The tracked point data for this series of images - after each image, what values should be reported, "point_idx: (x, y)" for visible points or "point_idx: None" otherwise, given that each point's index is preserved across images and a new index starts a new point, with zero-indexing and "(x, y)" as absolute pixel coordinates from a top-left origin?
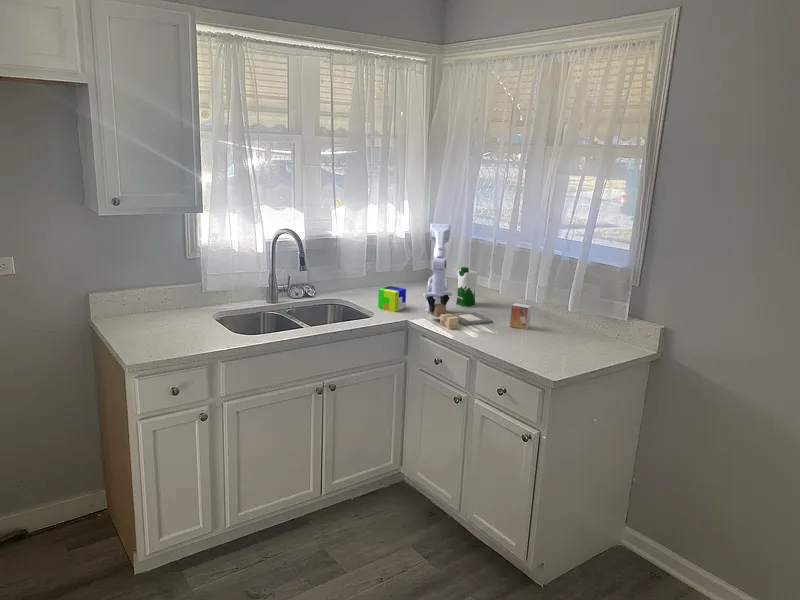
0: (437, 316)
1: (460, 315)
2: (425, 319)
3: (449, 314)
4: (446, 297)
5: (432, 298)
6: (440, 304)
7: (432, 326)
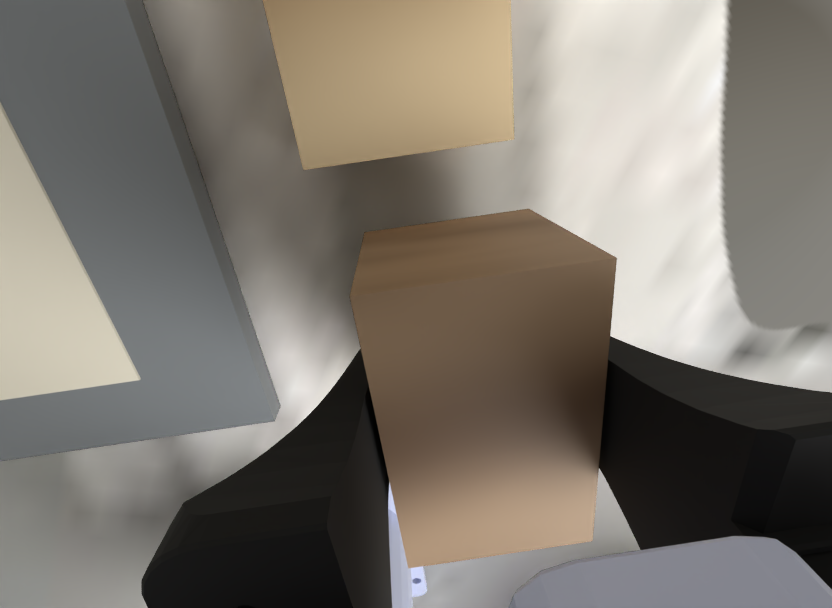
0: (513, 212)
1: (110, 374)
2: None
3: (337, 85)
4: (280, 553)
5: (805, 520)
6: (435, 426)
7: (620, 52)
